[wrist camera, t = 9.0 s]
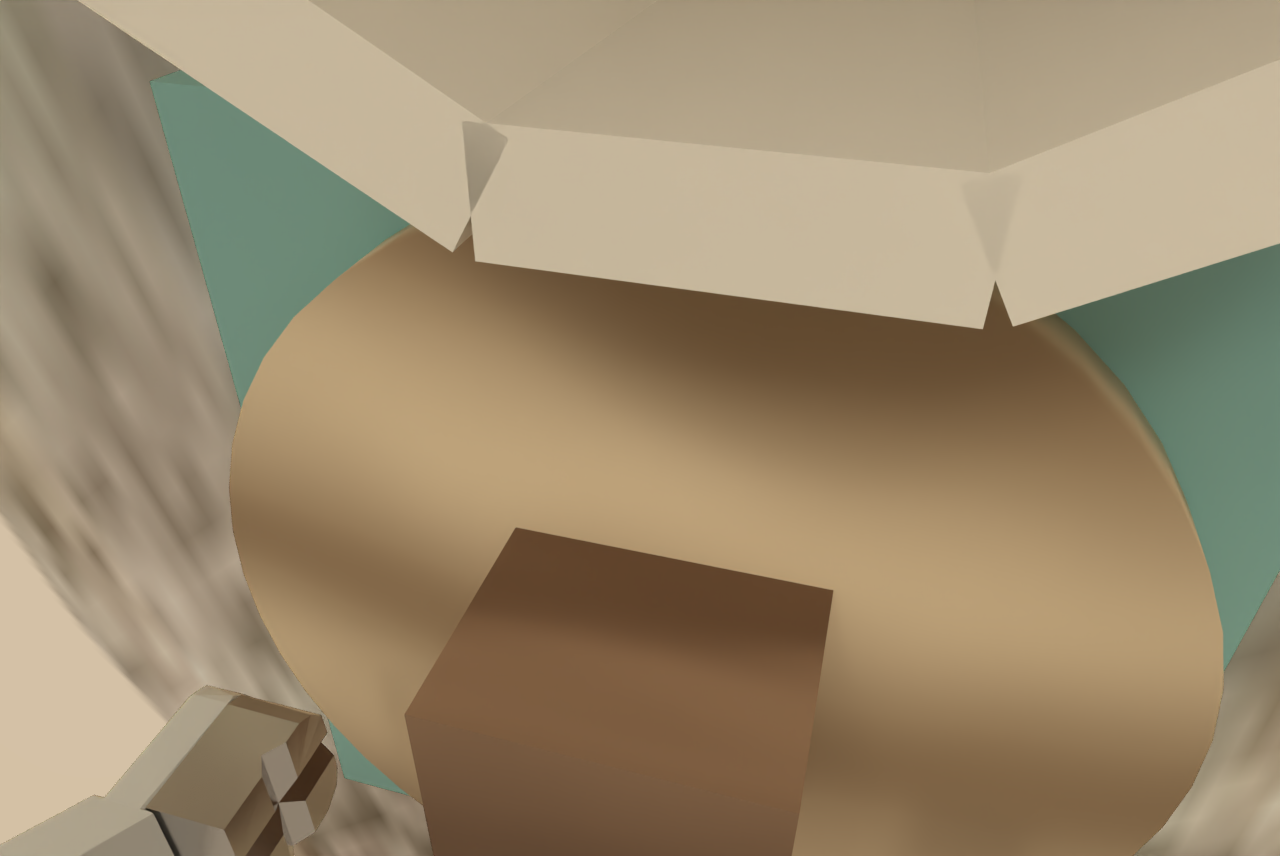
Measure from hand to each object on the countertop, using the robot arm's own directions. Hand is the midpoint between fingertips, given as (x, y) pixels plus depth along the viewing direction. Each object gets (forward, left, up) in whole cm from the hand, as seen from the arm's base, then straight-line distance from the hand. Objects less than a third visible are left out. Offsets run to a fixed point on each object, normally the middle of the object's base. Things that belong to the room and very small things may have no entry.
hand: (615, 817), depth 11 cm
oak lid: (0, 0, -4) cm, 4 cm away
